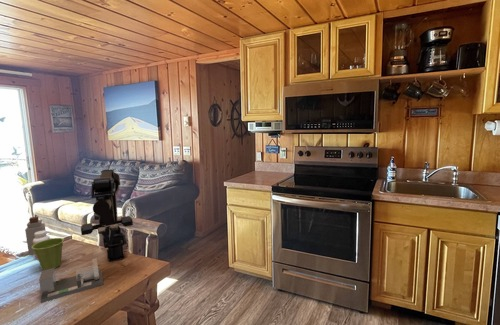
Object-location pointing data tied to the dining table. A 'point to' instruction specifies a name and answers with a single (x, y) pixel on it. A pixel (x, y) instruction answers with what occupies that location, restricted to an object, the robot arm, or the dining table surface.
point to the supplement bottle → (39, 239)
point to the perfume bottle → (32, 228)
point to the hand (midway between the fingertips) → (109, 244)
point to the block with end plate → (88, 272)
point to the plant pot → (49, 252)
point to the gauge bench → (63, 285)
